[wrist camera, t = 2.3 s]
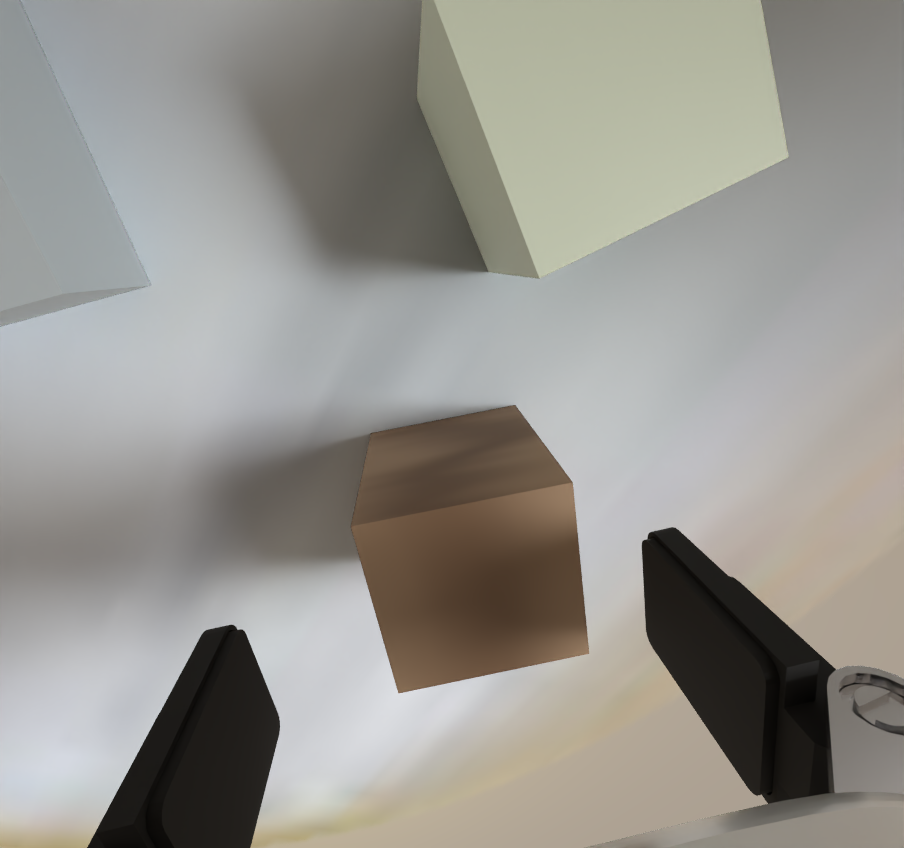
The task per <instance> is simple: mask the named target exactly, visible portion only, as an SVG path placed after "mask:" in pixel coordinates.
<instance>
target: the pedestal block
mask: <svg viewBox="0 0 904 848" xmlns="http://www.w3.org/2000/svg"><path fill="white" fill-rule="evenodd" d="M150 285H151V283H150V281H149V279H148V277H147V274H146V272H145V270H144V268H143V266H142V264H141V261H140V259H139V257H138V255H137V253H136V251H135V248H134V246H133V244H132V242H131V240H130V238H129V235H128V233H127V231H126V229H125V227H124V225H123V222H122V220H121V218H120V216H119V214H118V212H117V209H116V207H115V205H114V203H113V201H112V199H111V196H110V194H109V192H108V190H107V188H106V186H105V183H104V181H103V179H102V177H101V175H100V173H99V170H98V168H97V166H96V164H95V162H94V160H93V157H92V155H91V153H90V151H89V149H88V147H87V144H86V142H85V140H84V138H83V136H82V134H81V131H80V129H79V127H78V125H77V123H76V121H75V118H74V116H73V114H72V112H71V110H70V108H69V105H68V103H67V101H66V99H65V97H64V95H63V92H62V90H61V88H60V86H59V84H58V82H57V80H56V77H55V75H54V73H53V71H52V69H51V67H50V64H49V62H48V60H47V58H46V56H45V54H44V51H43V49H42V47H41V45H40V43H39V41H38V38H37V36H36V34H35V32H34V30H33V28H32V25H31V23H30V21H29V19H28V17H27V15H26V12H25V10H24V8H23V6H22V4H21V2H20V0H0V327H1V326H4V325H8V324H12V323H15V322H19V321H23V320H26V319H30V318H34V317H37V316H41V315H44V314H48V313H52V312H55V311H59V310H63V309H66V308H70V307H74V306H77V305H81V304H85V303H88V302H92V301H95V300H99V299H103V298H106V297H110V296H114V295H117V294H121V293H125V292H128V291H132V290H136V289H139V288H143V287H146V286H150Z"/></svg>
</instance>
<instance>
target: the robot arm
mask: <svg viewBox="0 0 904 848" xmlns="http://www.w3.org/2000/svg"><path fill="white" fill-rule="evenodd" d="M642 558H643V578H644V598H645V618H646V632H647V636H648V639H649V642H650V644H651V646H652V647H653V649H654V650H655V652H656V653H657V655H658V656H659V658H660V659H661V661H662V662H663V664H664V665H665V666H666V668H667V669H668V671H669V672H670V674H671V675H672V677H673V678H674V680H675V681H676V683H677V684H678V686H679V687H680V689H681V690H682V692H683V693H684V694H685V696H686V697H687V699H688V700H689V702H690V703H691V705H692V706H693V708H694V709H695V711H696V712H697V714H698V715H699V716H700V718H701V720H702V721H703V722H704V724H705V725H706V727H707V728H708V730H709V731H710V733H711V734H712V736H713V737H714V739H715V740H716V741H717V743H718V744H719V746H720V747H721V749H722V750H723V752H724V753H725V755H726V756H727V758H728V759H729V761H730V762H731V763H732V765H733V767H734V768H735V770H736V771H737V772H738V774H739V775H740V777H741V778H742V780H743V781H744V783H745V784H746V786H747V787H748V788H749V790H750V791H751V792H752V793H753V794H755V795H761V794H762V796H763V797H764V798H765V800H766V801H767V803H768V804H767V805H762V806H757V807H753V808H749V809H744V810H739V811H735V812H730V813H726V814H721V815H717V816H713V817H708V818H704V819H699V820H695V821H691V822H687V823H683V824H679V825H675V826H671V827H667V828H663V829H659V830H655V831H651V832H647V833H643V834H639V835H635V836H631V837H626V838H622V839H618V840H615V841H610V842H606V843H602V844H598V845H594V846H590V847H586V848H904V679H903V678H901V677H899V676H897V675H895V674H892V673H889V672H886V671H883V670H880V669H877V668H871V667H865V666H846V667H843V668H840V669H837V670H836V669H835V668H834V667H833V666H832V665H830V664H829V663H828V662H827V661H826V660H825V659H824V658H823V657H822V656H821V655H819V654H818V653H817V652H816V651H815V650H814V649H813V648H812V647H810V645H808V644H807V643H806V642H805V641H804V640H803V639H802V638H801V637H800V636H799V635H797V634H796V633H795V632H794V631H793V630H792V629H791V628H790V627H789V626H788V625H786V624H785V623H784V622H783V621H782V620H781V619H780V618H779V617H778V616H777V615H775V614H774V613H773V612H772V611H771V610H770V609H769V608H768V607H767V606H765V605H764V604H763V603H762V602H761V601H760V600H759V599H758V598H757V597H756V596H754V595H753V594H752V593H751V592H750V591H749V590H748V589H747V588H746V587H745V586H743V585H742V584H741V583H740V582H739V581H737V580H736V579H735V578H733V577H730V576H728V575H727V574H726V573H724V572H723V571H722V570H721V569H720V568H719V567H718V566H717V565H716V564H715V563H714V562H713V561H711V560H710V559H709V558H708V557H707V556H706V555H705V554H704V553H703V552H702V551H701V550H700V549H698V548H697V547H696V546H695V545H694V544H693V543H692V542H691V541H690V540H689V539H688V538H686V537H685V536H684V535H683V534H682V533H681V532H680V531H679V530H678V529H676V528H673V527H672V528H667V529H663V530H658V531H654V532H650V533H649V534H648V539H647V540H644V541H643V542H642ZM279 731H280V720H279V716H278V713H277V710H276V708H275V705H274V703H273V700H272V698H271V695H270V693H269V690H268V688H267V685H266V683H265V680H264V678H263V675H262V673H261V670H260V668H259V665H258V663H257V660H256V658H255V655H254V653H253V650H252V648H251V645H250V643H249V640H248V638H247V635H246V633H245V631H243V630H237V628H236V627H235V626H234V625H228V626H223V627H219V628H214V629H210V630H206V631H205V632H204V633H203V634H202V635H201V637H200V639H199V641H198V643H197V645H196V646H195V648H194V650H193V652H192V654H191V656H190V658H189V660H188V661H187V663H186V665H185V667H184V669H183V671H182V673H181V674H180V676H179V678H178V680H177V682H176V684H175V686H174V688H173V689H172V691H171V693H170V695H169V697H168V699H167V701H166V703H165V704H164V706H163V708H162V710H161V712H160V713H159V715H158V717H157V719H156V720H155V722H154V724H153V726H152V728H151V730H150V732H149V733H148V735H147V737H146V739H145V741H144V743H143V745H142V747H141V748H140V750H139V752H138V754H137V756H136V758H135V760H134V761H133V763H132V765H131V767H130V769H129V771H128V773H127V775H126V776H125V778H124V780H123V782H122V784H121V786H120V788H119V789H118V791H117V793H116V795H115V797H114V799H113V801H112V802H111V804H110V806H109V808H108V810H107V812H106V814H105V816H104V817H103V819H102V821H101V823H100V825H99V827H98V829H97V830H96V832H95V834H94V836H93V838H92V840H91V842H90V844H89V845H88V847H87V848H250V847H251V843H252V839H253V835H254V831H255V827H256V823H257V819H258V815H259V811H260V807H261V803H262V799H263V795H264V791H265V788H266V784H267V780H268V776H269V772H270V768H271V764H272V760H273V756H274V752H275V748H276V744H277V740H278V736H279Z"/></svg>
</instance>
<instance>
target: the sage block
mask: <svg viewBox="0 0 904 848" xmlns="http://www.w3.org/2000/svg"><path fill="white" fill-rule="evenodd" d="M417 101H418V103H419V105H420V108H421V110H422V113H423V115H424V118H425V120H426V122H427V125H428V127H429V130H430V132H431V134H432V137H433V139H434V142H435V144H436V146H437V149H438V151H439V154H440V156H441V158H442V161H443V163H444V166H445V168H446V171H447V173H448V175H449V178H450V180H451V183H452V185H453V187H454V190H455V192H456V195H457V197H458V199H459V202H460V204H461V207H462V209H463V211H464V214H465V216H466V219H467V221H468V224H469V226H470V228H471V231H472V233H473V236H474V238H475V240H476V243H477V245H478V248H479V250H480V252H481V255H482V257H483V260H484V262H485V264H486V267H487V269H488V272H491V273H499V274H507V275H515V276H523V277H530V278H538V279H540V278H542V277H544V276H546V275H548V274H550V273H552V272H554V271H556V270H558V269H560V268H562V267H564V266H567V265H569V264H571V263H573V262H575V261H577V260H579V259H581V258H583V257H585V256H587V255H589V254H591V253H593V252H595V251H597V250H599V249H601V248H604V247H606V246H608V245H610V244H612V243H614V242H616V241H618V240H620V239H622V238H624V237H626V236H628V235H630V234H632V233H634V232H636V231H638V230H641V229H643V228H645V227H647V226H649V225H651V224H653V223H655V222H657V221H659V220H661V219H663V218H665V217H667V216H669V215H671V214H673V213H675V212H678V211H680V210H682V209H684V208H686V207H688V206H690V205H692V204H694V203H696V202H698V201H700V200H702V199H704V198H706V197H708V196H710V195H712V194H715V193H717V192H719V191H721V190H723V189H725V188H727V187H729V186H731V185H733V184H735V183H737V182H739V181H741V180H743V179H745V178H747V177H749V176H751V175H754V174H756V173H758V172H760V171H762V170H764V169H766V168H768V167H770V166H772V165H774V164H776V163H778V162H780V161H782V160H784V159H786V158H788V157H789V156H788V150H787V145H786V139H785V134H784V128H783V122H782V117H781V111H780V105H779V100H778V94H777V89H776V83H775V77H774V72H773V66H772V60H771V55H770V49H769V43H768V38H767V32H766V27H765V21H764V15H763V10H762V4H761V0H422V10H421V29H420V47H419V66H418V84H417Z"/></svg>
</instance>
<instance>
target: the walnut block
mask: <svg viewBox="0 0 904 848" xmlns="http://www.w3.org/2000/svg"><path fill="white" fill-rule="evenodd" d="M351 530H352V533H353V537H354V540H355V543H356V547H357V550H358V554H359V557H360V561H361V564H362V568H363V571H364V575H365V578H366V582H367V585H368V589H369V592H370V596H371V599H372V603H373V606H374V610H375V613H376V617H377V620H378V624H379V627H380V631H381V634H382V637H383V641H384V644H385V648H386V651H387V655H388V658H389V662H390V665H391V669H392V672H393V676H394V679H395V683H396V686H397V690H398V693H403V692H408V691H412V690H417V689H422V688H427V687H431V686H436V685H441V684H446V683H451V682H455V681H460V680H465V679H470V678H475V677H479V676H484V675H489V674H494V673H498V672H503V671H508V670H513V669H518V668H522V667H527V666H532V665H537V664H541V663H546V662H551V661H556V660H561V659H565V658H570V657H575V656H580V655H585V654H589V647H588V637H587V626H586V616H585V606H584V595H583V585H582V574H581V564H580V554H579V543H578V533H577V523H576V512H575V502H574V492H573V482H572V481H571V480H570V478H569V477H568V475H567V474H566V473H565V471H564V470H563V469H562V467H561V466H560V465H559V463H558V462H557V461H556V459H555V458H554V457H553V455H552V454H551V453H550V451H549V450H548V449H547V447H546V446H545V445H544V443H543V442H542V441H541V439H540V438H539V436H538V435H537V434H536V432H535V431H534V430H533V428H532V427H531V426H530V424H529V423H528V422H527V420H526V419H525V418H524V416H523V415H522V414H521V412H520V411H519V410H518V408H517V407H516V406H515V405H513V406H508V407H503V408H498V409H493V410H488V411H482V412H477V413H472V414H467V415H462V416H457V417H452V418H446V419H441V420H436V421H431V422H426V423H421V424H416V425H411V426H405V427H400V428H395V429H390V430H385V431H380V432H375V433H371V435H370V440H369V445H368V449H367V454H366V458H365V463H364V468H363V472H362V477H361V481H360V486H359V491H358V495H357V500H356V504H355V509H354V514H353V518H352V523H351Z"/></svg>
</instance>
